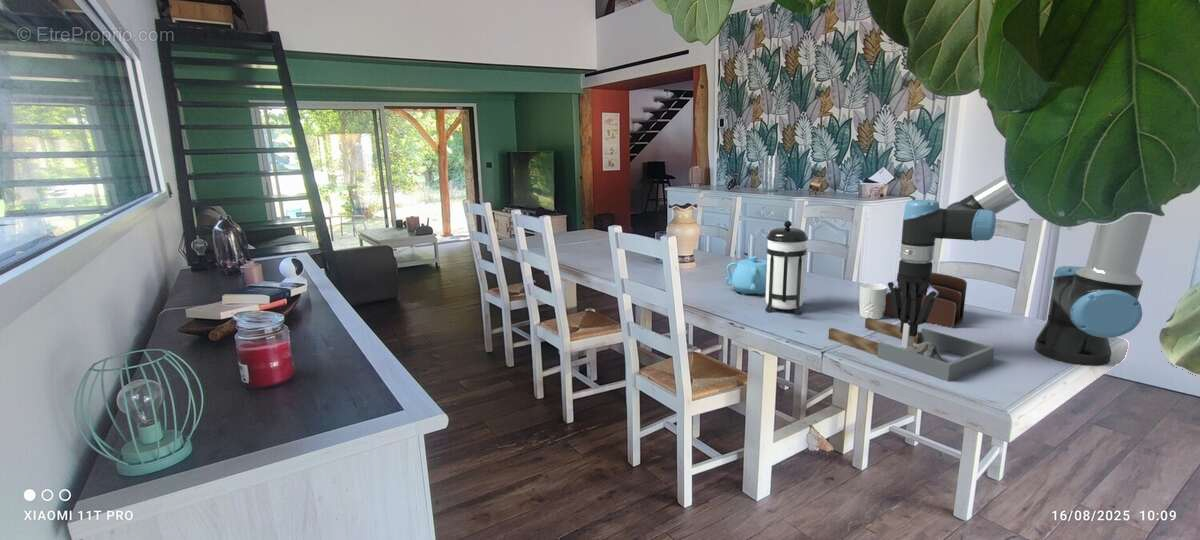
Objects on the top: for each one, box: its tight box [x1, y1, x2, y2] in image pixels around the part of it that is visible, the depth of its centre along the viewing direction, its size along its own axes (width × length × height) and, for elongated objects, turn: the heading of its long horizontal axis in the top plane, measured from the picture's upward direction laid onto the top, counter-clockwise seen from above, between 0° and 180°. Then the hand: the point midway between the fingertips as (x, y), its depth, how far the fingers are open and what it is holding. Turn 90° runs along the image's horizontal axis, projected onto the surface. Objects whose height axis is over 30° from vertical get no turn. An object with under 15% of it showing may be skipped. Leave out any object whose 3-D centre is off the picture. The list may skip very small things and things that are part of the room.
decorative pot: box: [725, 255, 767, 296], centre depth 210 cm, size 16×16×14 cm
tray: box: [876, 328, 995, 382], centre depth 144 cm, size 18×20×4 cm
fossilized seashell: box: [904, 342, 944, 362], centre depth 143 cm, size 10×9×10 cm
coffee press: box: [765, 220, 809, 316], centre depth 185 cm, size 17×16×30 cm
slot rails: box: [828, 318, 921, 356], centre depth 158 cm, size 16×18×3 cm
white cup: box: [858, 282, 888, 320], centre depth 179 cm, size 8×8×10 cm
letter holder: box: [883, 272, 968, 329], centre depth 175 cm, size 10×20×14 cm, turn 44°
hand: (907, 346), depth 150 cm, fingers closed
